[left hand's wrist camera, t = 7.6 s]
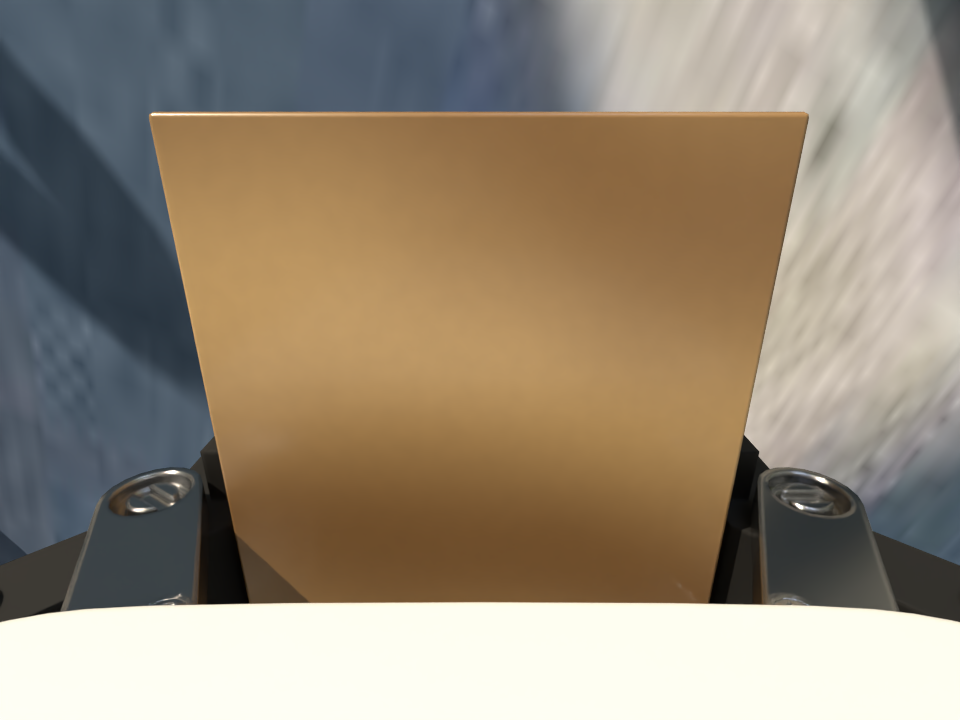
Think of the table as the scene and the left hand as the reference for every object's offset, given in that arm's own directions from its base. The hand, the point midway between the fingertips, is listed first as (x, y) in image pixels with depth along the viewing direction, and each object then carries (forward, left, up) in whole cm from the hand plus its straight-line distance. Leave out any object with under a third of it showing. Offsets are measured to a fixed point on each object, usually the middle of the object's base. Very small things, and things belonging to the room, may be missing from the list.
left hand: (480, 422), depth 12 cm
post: (+3, +26, -2) cm, 26 cm away
